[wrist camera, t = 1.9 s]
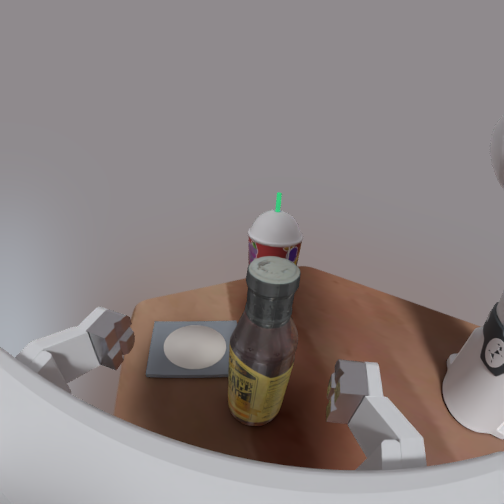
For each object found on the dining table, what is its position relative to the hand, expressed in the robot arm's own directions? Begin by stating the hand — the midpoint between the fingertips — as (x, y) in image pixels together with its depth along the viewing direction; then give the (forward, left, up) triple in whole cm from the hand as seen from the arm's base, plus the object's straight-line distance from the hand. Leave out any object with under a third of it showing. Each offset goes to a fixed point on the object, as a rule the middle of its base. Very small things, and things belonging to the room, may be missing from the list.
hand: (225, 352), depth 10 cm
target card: (+3, -22, -22) cm, 32 cm away
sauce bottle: (-4, -11, -23) cm, 26 cm away
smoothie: (-10, -32, -23) cm, 40 cm away
